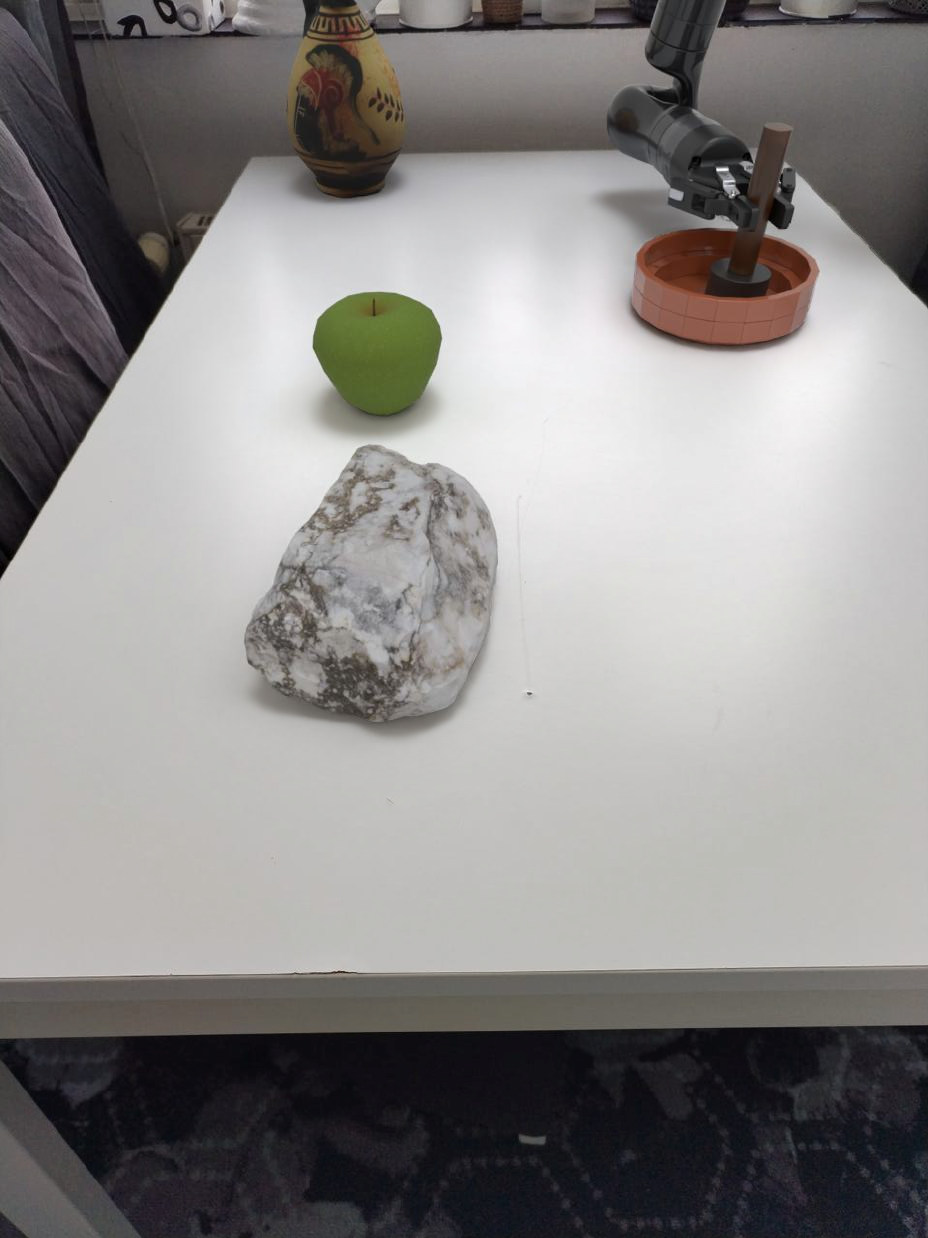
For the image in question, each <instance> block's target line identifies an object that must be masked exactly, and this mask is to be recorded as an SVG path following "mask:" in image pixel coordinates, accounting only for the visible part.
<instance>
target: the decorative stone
mask: <svg viewBox="0 0 928 1238" xmlns="http://www.w3.org/2000/svg"><path fill="white" fill-rule="evenodd" d="M498 547H499V546H498V538H497V532H496V528H495V525H494V522H493V518H492V514H491V512H490V509H489V507H488V505H487V503H486V502H485V500H484V499H483V497H482V495H481V494H480V493H479V492H478V490H477V489H476V488H475V486H474V485H473V484H472V483H471V482H470V481H469V480H468V479H467V478H466V477H465V476H463V475H462V474H460V473H458V472H457V471H455V470H453V468H450V467H448V466H445V465H443V464H441V463H439V462H427V463H426V464H425V463H424V464H419V463H417V462H414V461H411V460H409V459H408V458H407V456H406V455H403V454H402V453H400V452H399V451H396V450H393V449H390V448H386V447H385V446H383V445H381V444H373V443H371V444H370V443H368V444H364V445H363V446H360V447H357V448H356V449H355V452H354V453H353V454H352V456H351V458H350V459H349V461H348V462H347V464H346V465H345V467H344V468H343V470H341V472H340V474H339V477H338V478H337V479H336V480H335V482H333V484H332V485H331V486H330V487H329V488H328V490H327V491H326V493H325V495H324V497H323V498H322V501H321V503H320V504H319V505H318V508H317V509H316V510H315V512H314V513H313V514H312V515H311V517H310V518H309V519H308V520H307V521H306V522H305V523H304V524H303V525H302V526H301V527H299V529H297V530H296V532H295V533H294V535H293V536H292V538H291V539H290V541H289V543H288V545H287V547H286V548H285V550H284V552H283V554H282V557H281V558H280V562H279V564H278V567H277V569H276V572H275V575H274V579H273V582H272V585H271V587H270V588H269V589H268V591H267V592H266V593H265V595H264V596H263V597H261V598H260V599H258V601H257V603H256V605H255V606H254V608H253V609H252V612H251V618H250V620H249V622H248V624H247V626H246V627H245V632H244V640H243V643H244V648H245V653H246V661H247V664H248V665H249V666H250V667H252V668H253V669H254V670H255V671H256V672H258V673H259V674H260V675H262V677H263V678H265V680H267V682H269V684H270V686H271V688H272V689H273V690H274V691H276V692H277V693H278V694H281V695H282V696H285V697H288V698H289V697H291V696H294V695H295V696H297V697H299V698H301V699H302V700H304V701H305V702H307V703H309V704H311V705H313V706H315V707H318V708H320V709H322V710H325V711H328V712H332V713H334V714H335V713H336V714H340V715H341V714H343V715H344V714H345V715H348V714H349V715H353V716H358V717H360V718H362V719H364V720H365V721H368V722H374V723H383V722H389V721H393V720H397V719H400V718H403V717H418V716H422V715H427V714H431V713H434V712H438V711H441V710H444V709H447V708H448V707H450V706H451V705H452V704H454V703H455V701H456V699H457V698H458V696H459V694H460V691H461V689H462V688H463V686H464V684H465V682H466V680H467V678H468V675H469V672H470V670H471V667H472V666H473V664H474V662H475V660H476V657H477V656H478V654H479V652H480V650H481V648H482V646H483V644H484V642H485V640H486V637H487V635H488V632H489V629H490V626H491V614H492V595H493V589H494V586H495V584H496V577H497V569H498V568H497V567H498V564H499V553H498V552H499V551H498Z"/></svg>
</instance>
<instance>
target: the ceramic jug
mask: <svg viewBox="0 0 928 1238" xmlns="http://www.w3.org/2000/svg"><path fill="white" fill-rule="evenodd" d="M301 1H302V4H303V8H304V9H303V10H304V13H305V17H304V23H303V32H302V41H301V44H300V46H299V48H298V52H297V55H296V58H295V60H294V63H293V66H292V70H291V73H290V77H289V82H288V87H287V94H286V109H285V111H286V123H287V131H288V136H289V139H290V143H291V146H292V147H293V150H294V151H295V153H296V155H297V156H298V157H299V159H300V160H301V161H302V163H304V165H305V166H306V167H307V168H308V169H309V170H310V171H311V173H312V174H314V176H315V178H314V183H315V185H316V186H317V187H318V189H319V190H320V191H321V192H322V193H323V192H324V193H326V194H329V195H332V196H336V197H339V198H345V199H347V198H348V199H349V198H352V197H358V196H365V197H366V196H369V195H374V194H376V193H379V192H381V191H382V188H384V187H385V185H386V183H385V179H386V176H387V175H388V174H389V171H390V170H391V168H392V167H393V165H394V163H395V162H396V160H397V159H398V157H399V156H400V153H401V151H402V148H403V143H404V140H405V135H406V134H405V133H406V114H405V107H404V102H403V97H402V93H401V89H400V86H399V81H398V79H397V76H396V72H395V69H394V67H393V66H392V64H391V62H390V59H389V58H388V56H387V54H386V52H385V50H384V48H383V47H382V44H381V42H380V40H379V39H378V37H377V35H376V33H375V31H374V30H373V28H372V27H371V25H370V23H369V22H368V20H366V18H365V16H364V14H363V13H362V11H361V10H360V7H359V5H358V2H356V1H355V0H301Z"/></svg>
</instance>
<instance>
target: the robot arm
mask: <svg viewBox="0 0 928 1238" xmlns="http://www.w3.org/2000/svg"><path fill="white" fill-rule="evenodd" d="M726 2H727V0H658V1H657V4H656V8H655V11H654V13H653V17H652V20H651V23H650V27H649V30H648V33H647V36H646V40H645V45H644V56H645V59H646V61H647V63H648V64H649V65H650V66H651V67H653V68H654V69H656V70H657V71H659V72H661V73H663V74H665V75H668V76H670V77H672V78H673V79H672V82H671V85H670V86H662V85H653V84H644V83H631V84H626V85H625V86H623V87H621V88H620V89H619V90H618V91H617V92H616V93H615V94H614V96H613V97H612V99H611V101H610V103H609V105H608V109H607V112H606V131H607V135H608V137H609V140H610V142H611V143H612V145H613V146H614V148H615V149H616V150H617V151H619V152H620V153H621V154H624V155H626V156H628V157H630V158H632V159H635V160H637V161H639V162H642V163H645V164H648V165H650V166H652V167H653V168H654V169H655V170H656V171H657V172H658V173H659V174H660V175H662V177H663V179H664V181H665V182H666V184H667V185H668V186H669V190H668V197H667V205H668V206H670V207H673V208H675V209H677V210H680V211H682V212H685V213H688V214H690V215H692V216H695V217H698V218H700V219H703V220H705V221H713V220H715V219H716V217H721V219H722V220H723V221H727V222H732V223H733V224H734V225H735V226H737V228H738V227H741V228H742V229H743V230H744V231H745V232H755V230H756V227H757V222H758V217H759V208H758V207H757V206H756V205H755V204H754V203H752V202H751V201H750V200H749V199H748V198H746V195H747V191H748V187H749V183H750V179H751V175H752V171H753V167H754V163H755V162H754V160H753V157H752V153H751V151H750V148H749V147H748V145H747V144H746V142H744V140H743V139H742V138H740V137H738V136H737V135H736V134H734V133H733V132H731V131H730V130H729V129H727V128H726V127H725V126H723V125H722V124H720V123H719V122H718V121H716V120H714V119H712V118H710V117H707V116H705V115H704V114H702V113H701V112H700V111H698V108H699V98H700V91H701V85H702V79H703V72H704V67H705V62H706V58H707V54H708V52H709V49H710V46H711V44H712V41H713V38H714V35H715V33H716V30H717V27H718V25H719V22H720V19H721V17H722V14H723V12H724V8H725V5H726ZM796 174H797V173H796V168H793V167H791V166H789V167H783V169H782V173H781V176H780V180H779V184H778V187H777V191H776V194H775V198H774V202H773V205H772V209H771V213H770V216H769V220H768V223H770V224H772V225H773V226H774V227H775V228H776V229H778V230H780V231H782V230H787V229H789V226H790V224H792V222H793V221H792V220H793V216H794V212H795V205H794V204H792V201H793V197H794V194H795V190H796V187H797V185H796V184H797V175H796Z"/></svg>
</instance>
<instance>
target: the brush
mask: <svg viewBox="0 0 928 1238" xmlns="http://www.w3.org/2000/svg"><path fill="white" fill-rule="evenodd" d="M793 132H794V127H793V126H792V125H790V124H787V123H783V122H772V121H771V122H766V123H764V125H763V127H762V131H761V135H760V139H759V143H758V147H757V151H756V155H755V159H754V162H753V163H754V167H753V171H752V175H751V179H750V183H749V187H748V191H747V195H746V198H748V199H749V200H750V201H751V202H752V203H754V204H755V205H756V206H757V207H758V208H759V217H758V222H757V227H756V230H755V232H745V231H744V230H743V229H742V228H741V227H738V226H737V229H738V230H737V234H736V238H735V242H734V246H733V250H732V254H731V258H723V259H719V260H716V261H715V262H713V263H712V265H711V268H710V272H709V276H708V280H707V285H706V289H705V293H704V294H705V295H710V296H716V297H733V298H752V297H762V296H766V292H767V289H768V285H769V282H770V278H771V271H770V270H769V269H768V268H767V267H766V266H764V265H762V264H760V263H758V262H757V260H758V256H759V253H760V249H761V245H762V242H763V238H764V235H765V234H766V230H767V228H768V223H769V221H768V220H769V216H770V213H771V209H772V205H773V202H774V198H775V194H776V191H777V187H778V184H779V180H780V176H781V173H782V172H783V169H784V165H785V162H786V158H787V154H788V150H789V147H790V143H791V140H792V137H793V136H792V135H793Z"/></svg>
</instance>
